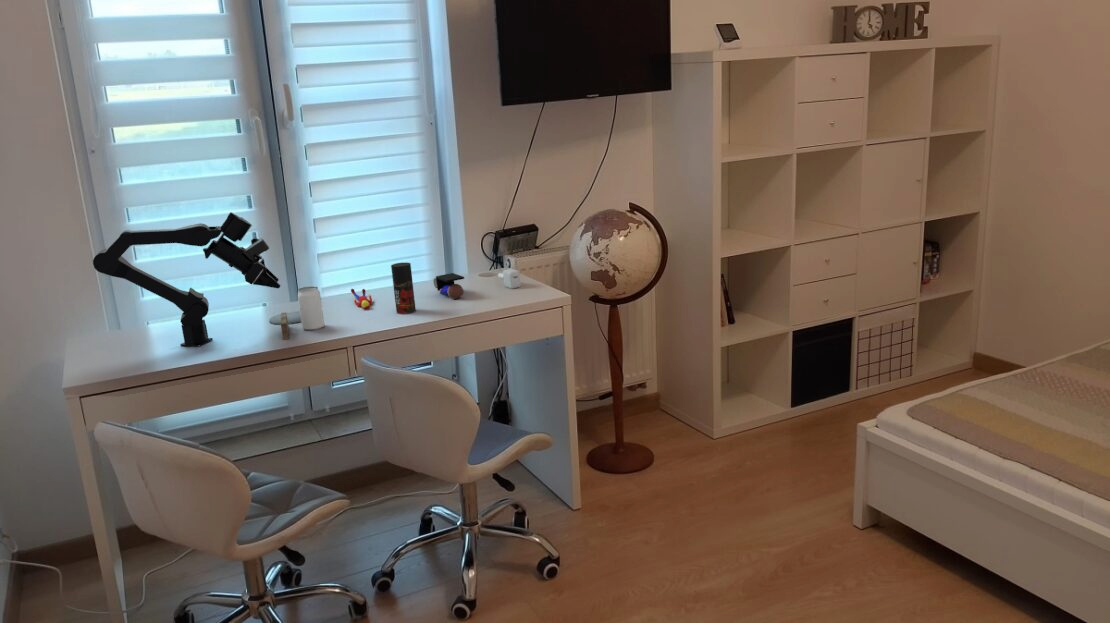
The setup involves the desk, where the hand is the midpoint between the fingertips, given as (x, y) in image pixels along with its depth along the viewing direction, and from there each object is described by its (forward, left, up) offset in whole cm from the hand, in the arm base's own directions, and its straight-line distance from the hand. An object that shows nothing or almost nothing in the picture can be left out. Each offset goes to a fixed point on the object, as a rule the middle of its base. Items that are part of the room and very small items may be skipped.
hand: (278, 284), depth 250 cm
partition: (-3, -2, -14) cm, 15 cm away
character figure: (+31, -10, -15) cm, 36 cm away
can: (+3, -8, -14) cm, 16 cm away
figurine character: (+41, -37, -14) cm, 57 cm away
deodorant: (+21, -30, -14) cm, 39 cm away
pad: (+12, +5, -14) cm, 19 cm away
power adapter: (+54, -53, -14) cm, 77 cm away
